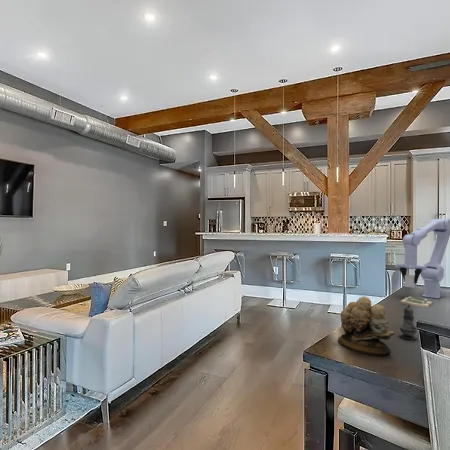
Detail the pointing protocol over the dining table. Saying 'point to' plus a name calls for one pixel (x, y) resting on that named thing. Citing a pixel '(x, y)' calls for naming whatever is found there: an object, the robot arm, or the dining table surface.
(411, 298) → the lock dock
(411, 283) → the block
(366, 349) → the owl figurine
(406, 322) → the grey chess piece
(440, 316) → the dining table surface
